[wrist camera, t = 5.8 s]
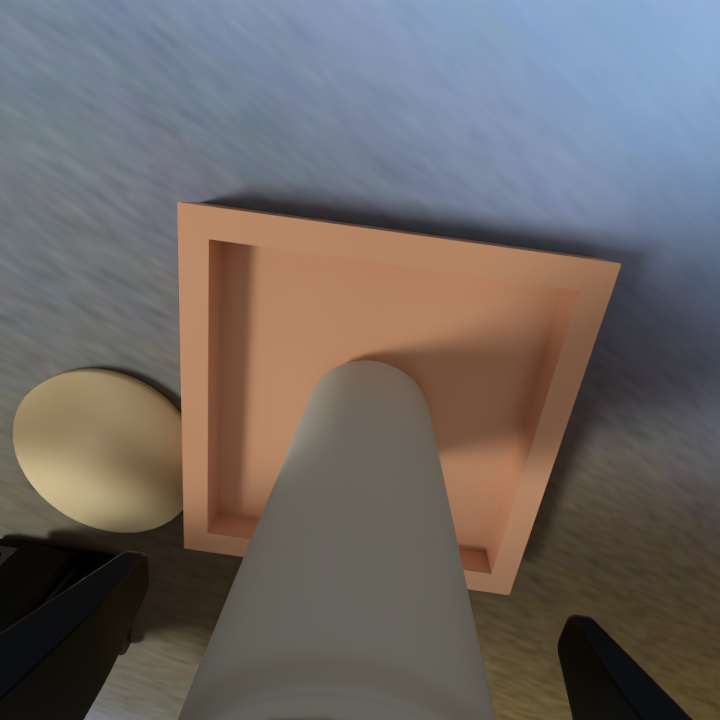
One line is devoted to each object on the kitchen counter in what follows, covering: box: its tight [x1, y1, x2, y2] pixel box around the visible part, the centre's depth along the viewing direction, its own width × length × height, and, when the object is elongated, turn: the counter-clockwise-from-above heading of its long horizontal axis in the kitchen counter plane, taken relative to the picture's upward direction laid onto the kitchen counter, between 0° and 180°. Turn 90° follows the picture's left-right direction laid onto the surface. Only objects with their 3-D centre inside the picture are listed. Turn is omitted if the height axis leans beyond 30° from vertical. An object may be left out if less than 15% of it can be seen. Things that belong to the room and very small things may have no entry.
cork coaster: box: [13, 368, 183, 533], centre depth 19 cm, size 8×8×1 cm
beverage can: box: [178, 360, 495, 720], centre depth 11 cm, size 5×5×12 cm
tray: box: [177, 202, 621, 595], centre depth 17 cm, size 14×14×2 cm
